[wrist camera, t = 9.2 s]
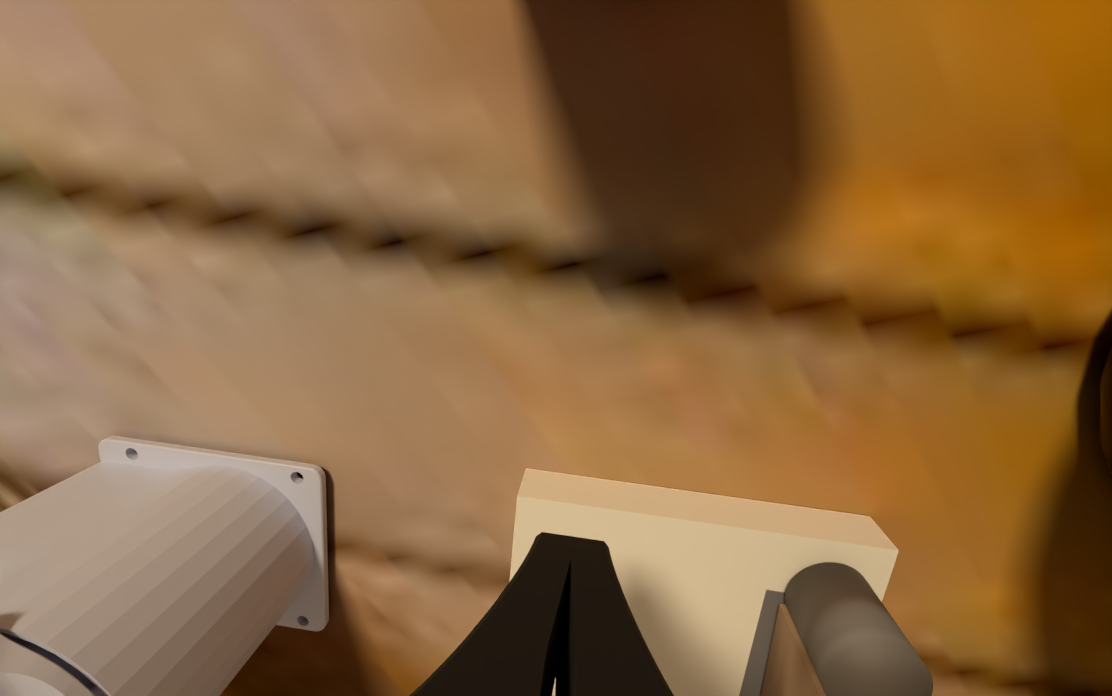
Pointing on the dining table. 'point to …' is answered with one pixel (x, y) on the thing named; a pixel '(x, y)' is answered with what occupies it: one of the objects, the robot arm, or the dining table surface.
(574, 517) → the stool seat
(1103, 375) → the amphora vase
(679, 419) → the dining table surface
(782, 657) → the stool leg
